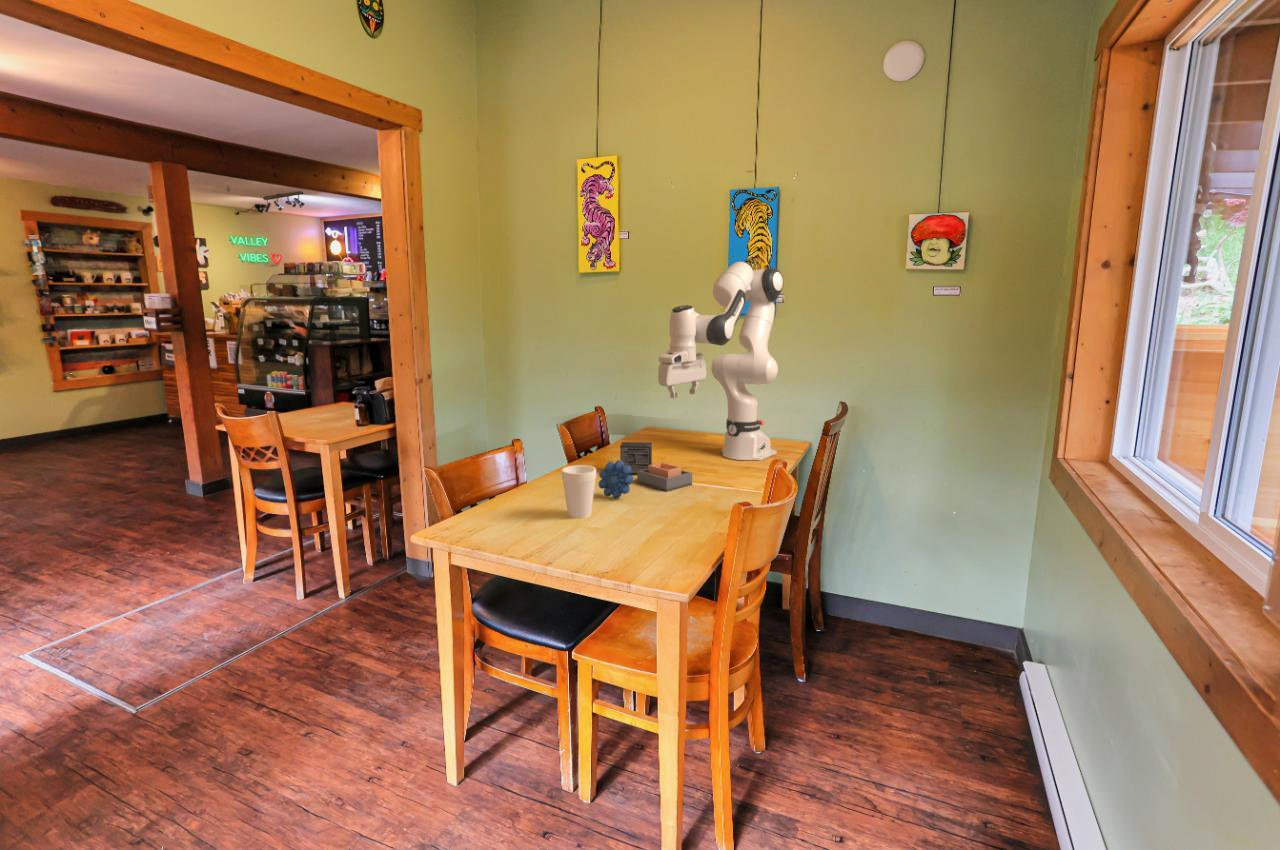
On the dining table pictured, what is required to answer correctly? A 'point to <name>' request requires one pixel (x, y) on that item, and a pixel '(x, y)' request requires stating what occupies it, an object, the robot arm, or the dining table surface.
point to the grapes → (615, 479)
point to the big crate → (664, 480)
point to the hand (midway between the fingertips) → (683, 395)
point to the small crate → (664, 470)
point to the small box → (636, 455)
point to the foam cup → (579, 489)
